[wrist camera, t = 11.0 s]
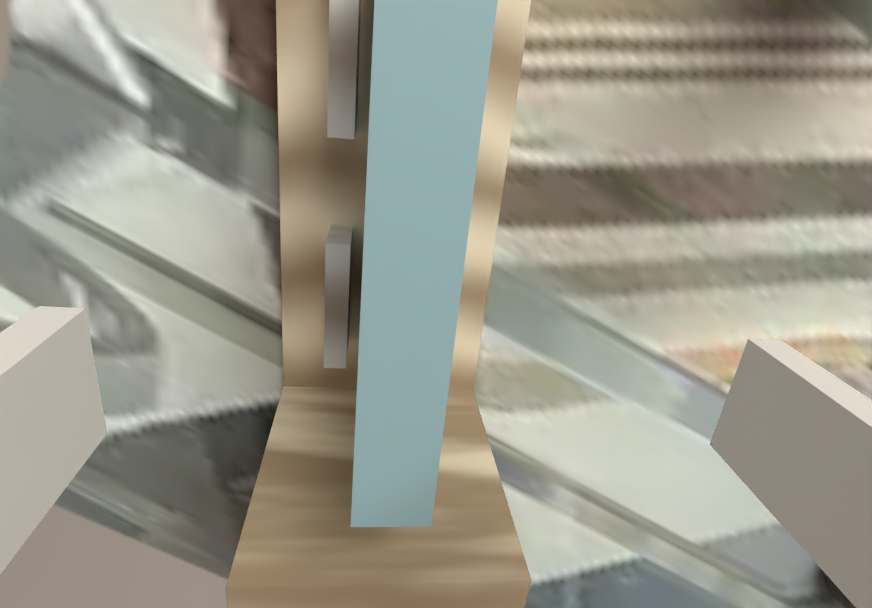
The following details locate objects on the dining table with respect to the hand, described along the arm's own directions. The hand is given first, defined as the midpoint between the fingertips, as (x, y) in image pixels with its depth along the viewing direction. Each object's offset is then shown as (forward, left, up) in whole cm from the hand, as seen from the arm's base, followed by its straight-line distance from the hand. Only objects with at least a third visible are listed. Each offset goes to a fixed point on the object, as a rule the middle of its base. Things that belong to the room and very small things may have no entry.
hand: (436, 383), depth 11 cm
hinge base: (0, 0, -22) cm, 22 cm away
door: (0, 0, -20) cm, 20 cm away
